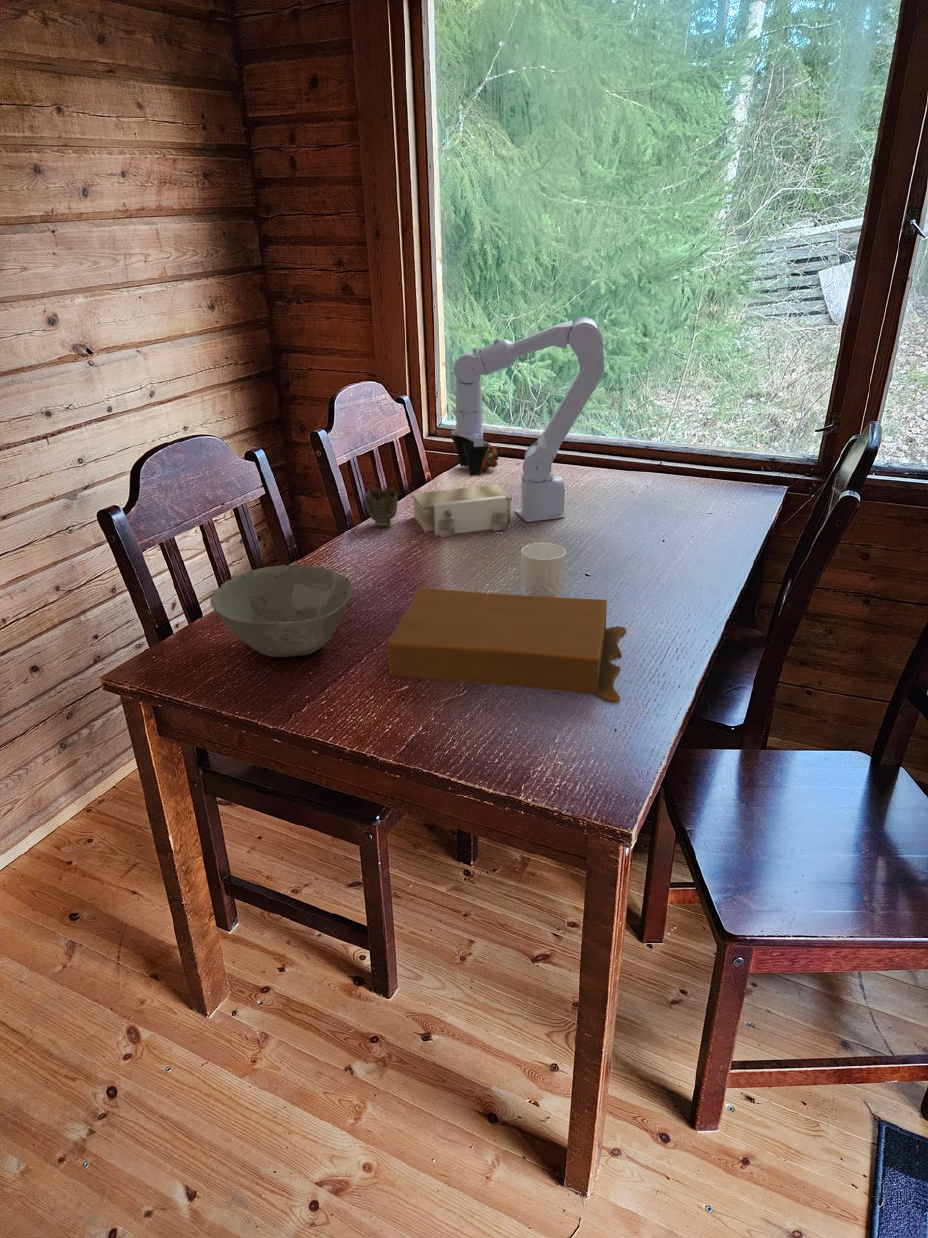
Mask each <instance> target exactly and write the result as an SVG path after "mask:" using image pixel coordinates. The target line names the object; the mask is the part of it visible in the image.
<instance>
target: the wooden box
mask: <svg viewBox="0 0 928 1238" xmlns="http://www.w3.org/2000/svg"><path fill="white" fill-rule="evenodd" d="M607 607H608V600H606V599H599V598H598V599H596V598H582V597H581V598H579V597H578V598H577V597H561V598H560V597H542V596H524V594H523V595H522V594H506V593H505V594H504V593H495V592H494V593H492V592H489V593H487V592H482V591H481V592H479V591H477V592H476V591H467V590H466V591H465V590H452V589H440V588H430V587H429V588H428V587H420V589H419V591H418V592H417V594H416V596H415V598H414V599H413V601H412V602H411V604H410V605H409V607H408V608H407V610H406V611H405V613H404V615H403V616H402V618H401V620H400V621H399V623H398V624H397V626H396V628H395V629H394V631H393V632H392V634H391V636H390V637H389V638H388V640H387V644H386V646H387V657H388V670H389V671H388V672H389V675H390V676H393V677H401V678H417V679H430V680H441V681H442V680H445V681H455V682H466V683H467V682H468V683H477V684H478V683H481V684H490V685H492V684H493V685H500V686H512V687H520V688H531V689H540V690H549V691H557V692H558V691H559V692H569V693H574V694H575V693H576V694H584V695H585V694H586V695H592V696H596V697H597V698H599V699H600V700H603V701H605V702H609V703H619V702H620V699H621V696H620V695H619V693H618V692H617V691H616V690H615V688H614V681H615V679H616V677H617V676H618V674H619V672H620V671H621V666H618V665H616V664H614V663H612V662H611V660H613V659H616V658H622V652H621V650H620V647H619V644H618V641H619V639H620V638H621V637H622V636H623V635H624V634H625V633H627V627H624V626H618V625H617V626H610V627H608V628H607V611H608V610H607V609H608V608H607Z"/></svg>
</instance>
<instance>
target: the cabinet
mask: <svg viewBox="0 0 928 1238" xmlns="http://www.w3.org/2000/svg"><path fill="white" fill-rule="evenodd" d="M411 495H412V499H413V515H414V516H413V517H414V519H415V520H416V521H417V523H418V524H419V526H420V527H421V528H422V530H423V531H424V532H425V533H426V532H432V531H433V532H435V521H434V503H442V502H451V501H460V500H468V499H477V498H486V497H495V496H505V497H506V513H499V514H492V529H491V530H492V531H493V532H496V531H503V530H507V528H508V526H507V525H508V522H511V516H512V515H511V514H512V513H511V508H512V507H511V505H512V503H511V502H512V500H513V499H512V496H511V495H509V493H507V491H505V490H504V489H503V488H502V487H501V486H499V484H490V485H489V484H487V485H479V486H472V487H461V488H452V489H450V488H449V489H443V490H434V491H426V492H416V493H412V494H411ZM455 534H456V533H455ZM455 534H454V520H453V519H449V520H441V521H440V535H439V536H440V538H449V537H455Z"/></svg>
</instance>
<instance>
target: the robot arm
mask: <svg viewBox="0 0 928 1238" xmlns="http://www.w3.org/2000/svg"><path fill="white" fill-rule="evenodd" d="M568 345H569V347H570V349H571V350H572V351H573V353H574V354H575V356H576V357H577V361H578V365H579V368H580V370H579V372H578V373H577V375H576V377H575V378H574V380H573V382H572V384H571V385H570V386H569V388H568V390H567V392H566V393H565V396H564V397H563V399H562V400H561V402H560V404H559V405H558V407H557V409H556V410H555V412H554V414H553V416H552V417H551V419H550V420H549V423H548V424H546V425H547V426H546V427H545V429H544V430H543V432H542V433H541V434H540V436H539V437H538V439H537V440H536V441H535V442H534V443H533V444H531V445H530V446H529V447H528V448H526V451H525V452H524V461H523V463H522V472H523V473H522V474H521V489H520V491H521V495H520V496H521V497H520V498H521V499H520V500H521V502H520V503H521V505H520V508H515V509H514V510H515V511H514V512H515V513H517V514H518V515H519V517H521V519H523V520H524V521H525V522H527V523H530V522H538V521H546V520H547V521H548V520H554V519H562V518H565V517H566V515H565V497H566V495H565V493H566V492H565V491H566V488H565V483H564V480H563V478H562V477H561V475H554V473H552V466H553V465H552V464H553V462H554V460H555V458H556V456H557V454H558V451H559V449H560V447H561V445H562V443H563V442H564V440H565V438H566V437H567V435H568V434H569V432H570V430H571V428H572V427H573V425H574V424H575V422H576V421H577V419H578V417H579V416H580V415H581V412H582V411H583V409H584V408H585V406H586V404H587V402H589V399H590V397H591V396H592V394H593V392H594V391H595V389H596V388H597V386H598V384H599V383H600V381H601V379H602V378H603V377H604V374H605V356H604V355H605V354H604V351H605V350H604V340H603V336H602V333H601V330H600V328H599V326H598V324H597V322H596V321H595V320H594V319H592V318H591V317H587V316H583V317H579V318H577V319H575V320H574V321H573V319H572V320H568V321H564V322H561V323H557V324H555V325H552V326H549V327H547V328H545V329H542V330H540V331H537V332H535V333H533V334H530V335H528V336H526V337H523V338H521V339H518V340H515V341H510V340H509V339H506V338H503V339H500V338H499V337H498V338H495V339H493V343H490V344H488V345H486V346H485V345H484V346H483V347H480V348H478V347H474V348H472V351H468V352H464V353H462V354H461V355H460V356H459V357H458V358H457V360H456V361H455V363H454V367H453V373H454V376H455V378H456V379H455V385H456V389H455V417H456V418H455V419H456V423H455V427H456V428H455V429H453V430H451V431H450V433H451V435H450V438H451V440H452V442H453V444H454V446H455V449H456V453H457V458H458V462H459V463H458V464H459V466H460V467H465V466H467V468H468V473H469V476H471V477H473V476H480V474H481V472H482V471H481V467H482V462H483V459H484V456H485V454H486V452H487V450H488V448H489V445H488V444H483V441H484V429H483V389H482V376H489V375H492V374H494V373H496V372H499V371H502V370H505V369H508V368H510V367H513V366H515V364H516V362H517V360H518V358H520V357H523V356H526V355H529V354H532V353H534V352H538V351H542V350H544V349H547V348H550V347H557V348H560V349H563V350H568V349H567V348H568Z"/></svg>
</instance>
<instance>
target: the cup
mask: <svg viewBox="0 0 928 1238" xmlns="http://www.w3.org/2000/svg"><path fill="white" fill-rule="evenodd" d="M398 494H399V492H398V491H397V489H396V490H395V489H394V488H393V487H391V488H389V487H386V488H385V489H384V490H381V488H380V487H377V488H376V487H373V488H371V490H370V489H367V491H366V490H365V491H364V493H363V495H364V500H365V505H366V506H365V507H366V510H367V513H368V516H369V517H370V518H371V520H373V521H374V525H375V526H376V528H379V529H380V528H381V529H384V528H388V527H390V526H391V524H392V521H391V520H392V519H394V518H395V516H396V514H397V511H398V510H397V509H398Z"/></svg>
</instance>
